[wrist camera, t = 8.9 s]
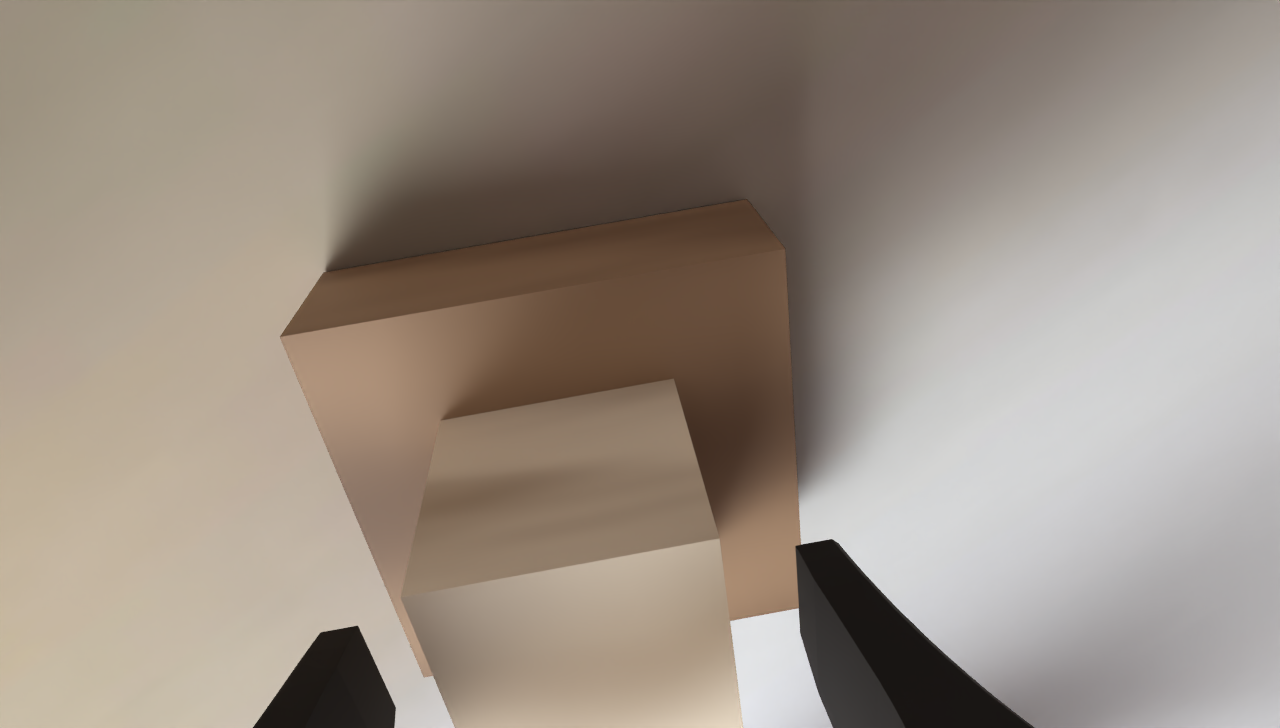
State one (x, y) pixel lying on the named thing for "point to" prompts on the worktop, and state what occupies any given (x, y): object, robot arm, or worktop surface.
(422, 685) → the worktop surface
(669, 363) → the walnut base
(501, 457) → the birch block
